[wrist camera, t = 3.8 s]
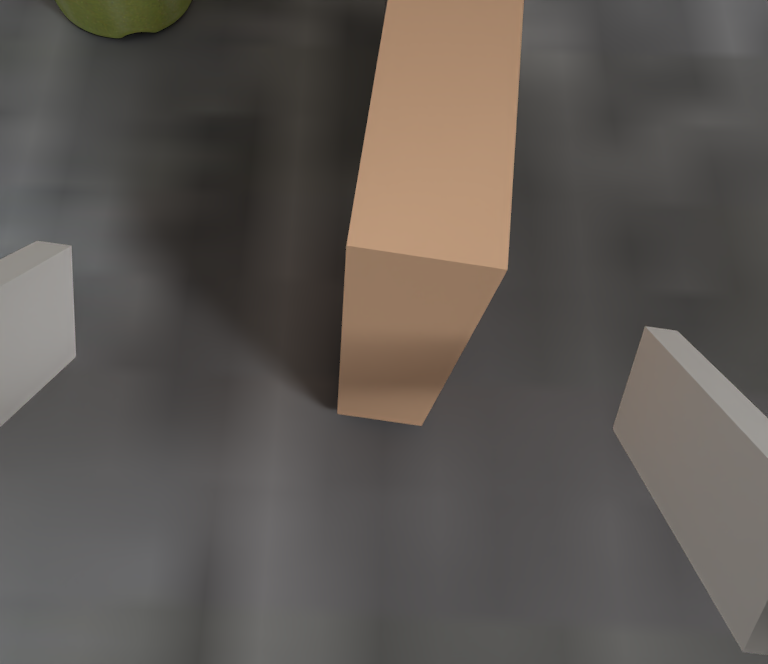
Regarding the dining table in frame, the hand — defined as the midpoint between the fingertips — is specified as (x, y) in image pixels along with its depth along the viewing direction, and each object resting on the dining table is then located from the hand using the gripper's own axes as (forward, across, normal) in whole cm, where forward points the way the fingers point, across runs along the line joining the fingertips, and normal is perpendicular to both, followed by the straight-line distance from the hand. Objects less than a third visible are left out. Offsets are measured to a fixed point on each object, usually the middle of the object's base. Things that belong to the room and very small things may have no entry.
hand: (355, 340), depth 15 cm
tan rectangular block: (+9, +1, -4) cm, 10 cm away
